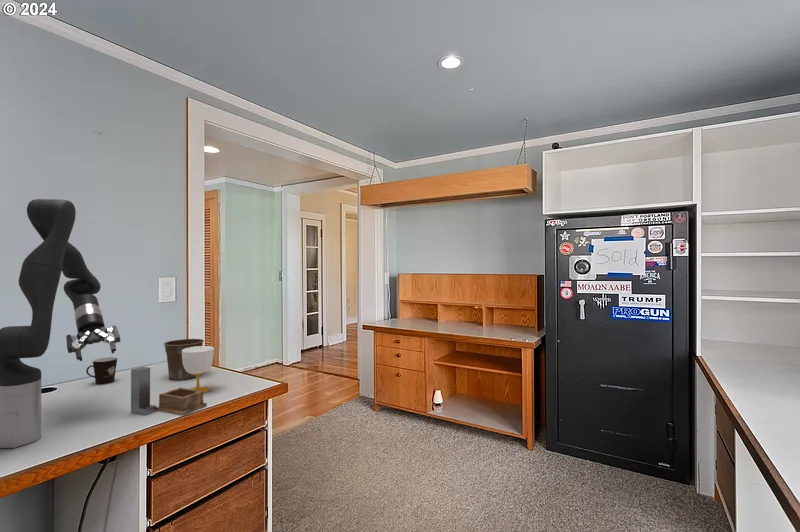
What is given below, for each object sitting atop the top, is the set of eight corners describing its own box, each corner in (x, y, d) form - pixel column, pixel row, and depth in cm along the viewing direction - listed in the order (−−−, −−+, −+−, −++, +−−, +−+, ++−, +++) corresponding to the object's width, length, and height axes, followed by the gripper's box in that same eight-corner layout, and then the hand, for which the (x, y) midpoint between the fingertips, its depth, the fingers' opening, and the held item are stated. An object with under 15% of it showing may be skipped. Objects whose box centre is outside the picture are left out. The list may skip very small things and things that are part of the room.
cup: (204, 384, 168) (204, 344, 168) (219, 389, 162) (219, 348, 162) (175, 391, 159) (176, 349, 159) (191, 397, 152) (191, 353, 152)
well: (182, 415, 134) (182, 399, 134) (155, 410, 138) (155, 394, 138) (206, 405, 143) (206, 390, 143) (180, 401, 148) (180, 386, 148)
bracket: (145, 415, 134) (145, 371, 134) (130, 412, 136) (131, 369, 136) (156, 411, 138) (156, 368, 138) (142, 408, 140) (142, 366, 140)
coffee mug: (113, 378, 177) (113, 356, 177) (119, 382, 172) (120, 359, 172) (81, 384, 168) (81, 360, 168) (86, 388, 163) (86, 364, 163)
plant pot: (164, 374, 184) (164, 340, 184) (203, 370, 192) (203, 337, 192) (162, 383, 170) (162, 346, 170) (204, 378, 177) (204, 343, 177)
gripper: (61, 317, 132) (68, 355, 124) (113, 308, 141) (122, 342, 133) (64, 331, 136) (71, 368, 128) (114, 321, 145) (123, 356, 137)
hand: (97, 355), depth 131 cm, fingers open, 8 cm apart
